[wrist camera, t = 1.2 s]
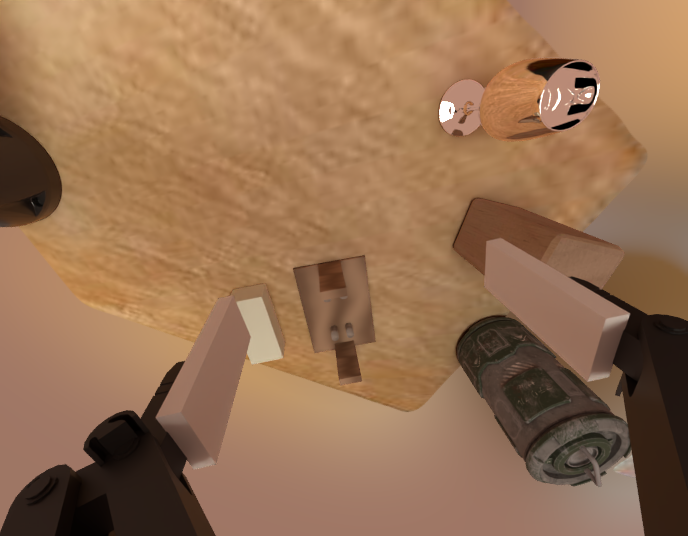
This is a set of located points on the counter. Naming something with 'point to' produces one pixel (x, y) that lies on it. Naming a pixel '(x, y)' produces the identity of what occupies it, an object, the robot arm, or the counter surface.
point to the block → (536, 241)
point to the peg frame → (338, 310)
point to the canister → (542, 405)
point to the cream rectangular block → (260, 323)
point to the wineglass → (523, 100)
